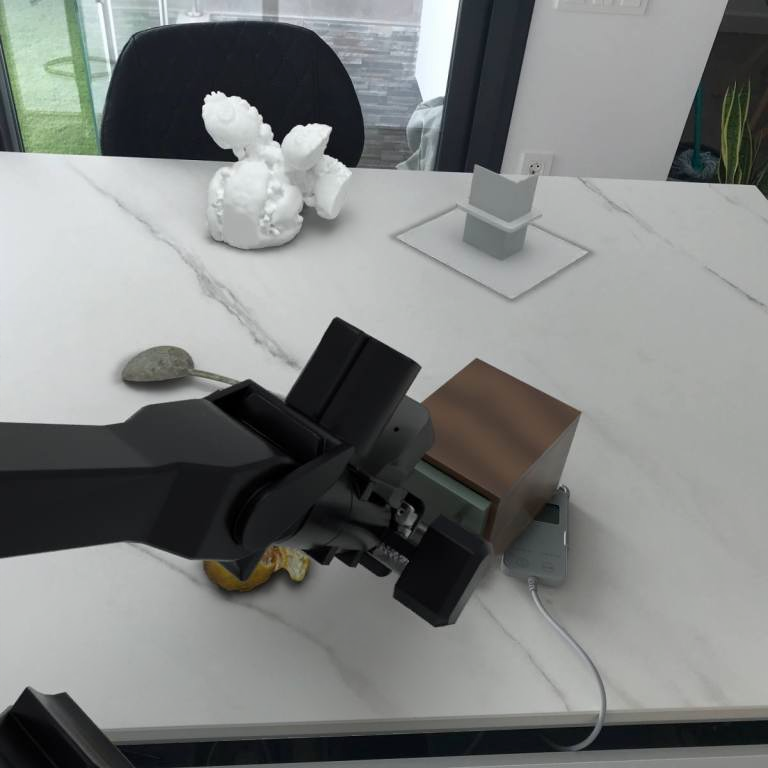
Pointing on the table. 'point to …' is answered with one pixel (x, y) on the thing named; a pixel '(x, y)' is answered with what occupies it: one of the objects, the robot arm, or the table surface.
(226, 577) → the fruit
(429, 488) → the drawer
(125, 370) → the soupspoon
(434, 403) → the cabinet
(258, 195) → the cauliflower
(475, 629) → the table surface
